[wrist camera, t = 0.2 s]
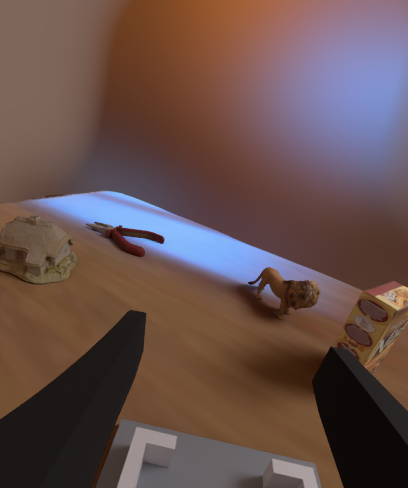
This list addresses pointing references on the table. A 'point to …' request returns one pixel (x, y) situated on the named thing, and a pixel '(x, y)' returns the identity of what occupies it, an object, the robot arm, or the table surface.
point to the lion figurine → (288, 291)
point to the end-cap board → (195, 463)
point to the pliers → (120, 232)
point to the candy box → (375, 324)
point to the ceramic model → (36, 250)
